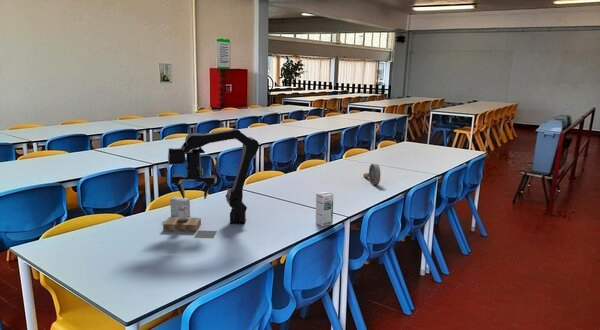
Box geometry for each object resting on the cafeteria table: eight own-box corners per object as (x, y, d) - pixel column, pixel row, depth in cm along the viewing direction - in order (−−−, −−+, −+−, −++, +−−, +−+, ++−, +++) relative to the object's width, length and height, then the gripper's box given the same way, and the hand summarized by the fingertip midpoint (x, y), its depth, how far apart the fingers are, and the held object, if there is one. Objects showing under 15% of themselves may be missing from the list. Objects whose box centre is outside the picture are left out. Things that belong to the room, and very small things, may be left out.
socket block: (200, 225, 195) (200, 217, 194) (196, 232, 186) (196, 225, 185) (169, 224, 195) (169, 216, 194) (163, 231, 186) (162, 224, 185)
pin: (188, 227, 192) (187, 205, 190) (185, 230, 189) (185, 208, 186) (179, 226, 192) (178, 205, 190) (177, 230, 189) (176, 208, 186)
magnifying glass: (362, 165, 287) (375, 163, 263) (367, 165, 288) (380, 163, 263) (363, 185, 287) (376, 184, 262) (367, 185, 287) (380, 184, 262)
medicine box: (190, 215, 207) (190, 198, 205) (185, 218, 202) (185, 200, 201) (175, 213, 209) (175, 196, 207) (170, 216, 205) (169, 199, 203)
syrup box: (322, 226, 197) (323, 196, 194) (314, 222, 202) (316, 192, 198) (332, 224, 200) (334, 194, 197) (324, 220, 205) (326, 190, 202)
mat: (217, 231, 188) (217, 230, 188) (213, 238, 180) (213, 238, 180) (198, 231, 188) (198, 230, 188) (194, 238, 180) (194, 237, 180)
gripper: (218, 160, 194) (219, 193, 198) (176, 158, 194) (178, 192, 198) (214, 165, 184) (214, 201, 187) (169, 164, 183) (170, 200, 187)
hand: (194, 198), depth 190 cm, fingers open, 9 cm apart
